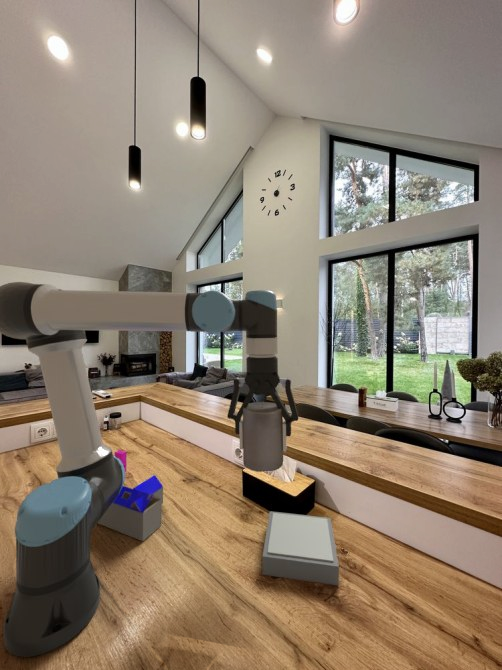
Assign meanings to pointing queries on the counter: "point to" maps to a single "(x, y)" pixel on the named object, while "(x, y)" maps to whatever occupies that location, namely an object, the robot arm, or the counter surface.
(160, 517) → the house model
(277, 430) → the pillar candle
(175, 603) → the counter surface
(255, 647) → the counter surface
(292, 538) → the plinth
